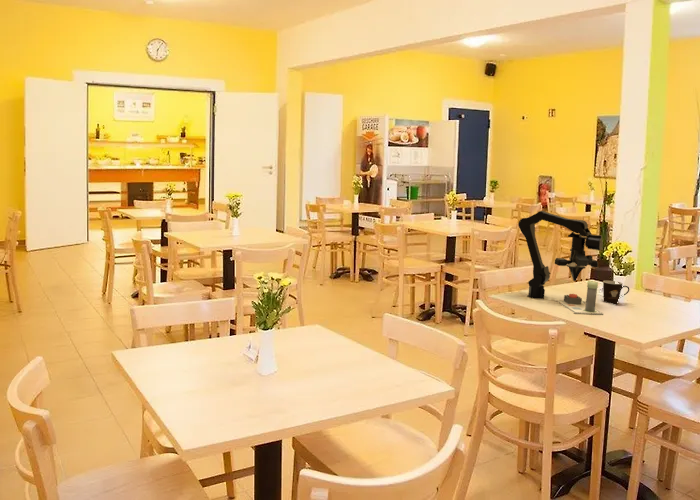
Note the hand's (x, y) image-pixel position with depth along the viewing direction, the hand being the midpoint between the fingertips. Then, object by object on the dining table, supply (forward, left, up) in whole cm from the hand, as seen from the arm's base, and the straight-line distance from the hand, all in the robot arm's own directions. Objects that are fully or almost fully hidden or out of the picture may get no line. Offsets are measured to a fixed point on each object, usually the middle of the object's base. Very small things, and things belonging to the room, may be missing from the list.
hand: (574, 280), depth 330 cm
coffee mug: (+22, +4, -11) cm, 25 cm away
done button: (0, 0, -8) cm, 8 cm away
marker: (+2, -16, -10) cm, 19 cm away
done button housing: (0, 0, -10) cm, 11 cm away
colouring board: (0, -8, -11) cm, 14 cm away
